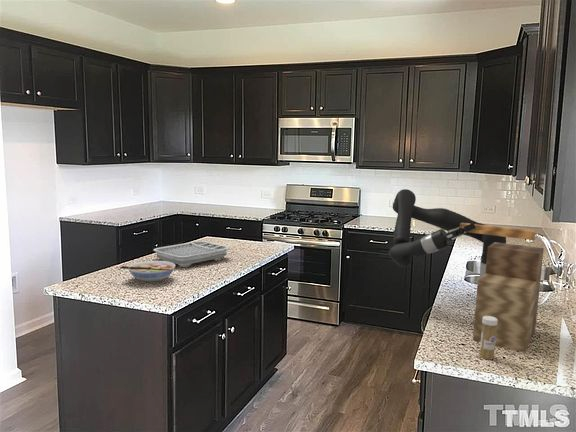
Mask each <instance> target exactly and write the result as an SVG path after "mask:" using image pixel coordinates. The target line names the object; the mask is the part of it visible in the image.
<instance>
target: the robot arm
mask: <svg viewBox="0 0 576 432" xmlns="http://www.w3.org/2000/svg"><path fill="white" fill-rule="evenodd" d="M416 201H417V199H416V194H415V193H414V192H413V191H412V190H410V189H406V188H403V189H400V190H399V191H398V192H397V193H396V195H395V198H394V200H393V204H392V210H393V211H394V212H395V213H396V214H397V216H396V221H395V225H394V230H393V241H392V242H393V244H394V245H393V246H391V248H390V249H389V251H388V257H389V258H390V259H391V260H392V261H393V262H394V263H395V264H396V265H397V266H399V267H400V268H408V267H409V266H410V265H411V263H412V261H413V257H415V258H422V257H424V256H426V255H430V254H433V253H436V252H438V251H441V250H443V249H447V248H448V247H450V246H451V241H454V240H456V239H457V238H460V237H461V236H467V237H469V238H472V239H475V240H477V241H479V242H481V243H483V244H482V253H481V257H480V268H479V277H478V280H479V279H480V278H481V277H482V276H483V275H484V274H485V273H486V262H487V251H488V246H490V245H491V244H493V243H494V242H498V243H506V244H507V237H503V236H495V235H487V234H478V233H470V232H468V231H470V230H472V229H475V228H476V227H475V224H478V225H487V226H490V225H488V224H484V223H481V222H478V221H475V220H473V219H471V218H469V217H467V216H465V215H463V214H461V213H460V214H459V213H458V212H455V211H453V210H450V209H447V208H443V207H439V208H438V207H437V208H436V207H435V208H424V207H419V206H417V205H416ZM412 219H413V220H416V221H417V220H418V221H420V222H423V223H426V224H428V225H431V226H433V227H436V228H438V230H436V231H433V232H431V233H429V234H426V235H424V236H422V237H420V238H418V239H415V240H413V241H411V229H412ZM460 223H469V225H467V226H464V227H461V228H460Z"/></svg>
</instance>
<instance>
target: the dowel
mask: <svg viewBox="0 0 576 432" xmlns="http://www.w3.org/2000/svg"><path fill="white" fill-rule="evenodd" d="M467 225H469V223H460V228H461V227H464V226H467ZM487 225H488V224H485V225H478V224H475V227H476V228H475V229H472V230H470V231H468V232H470V233H478V234H487V235H495V236H503V237H506V238H512V239H513V238H514V239H519V240H520V239H522V240H528V241H529V240H530V241H535V240H536V232H537V231H536V230H533V229H532V230H531V229H522V228H514V227H513V228H512V227H503V226H495V225H489V226H487Z"/></svg>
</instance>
